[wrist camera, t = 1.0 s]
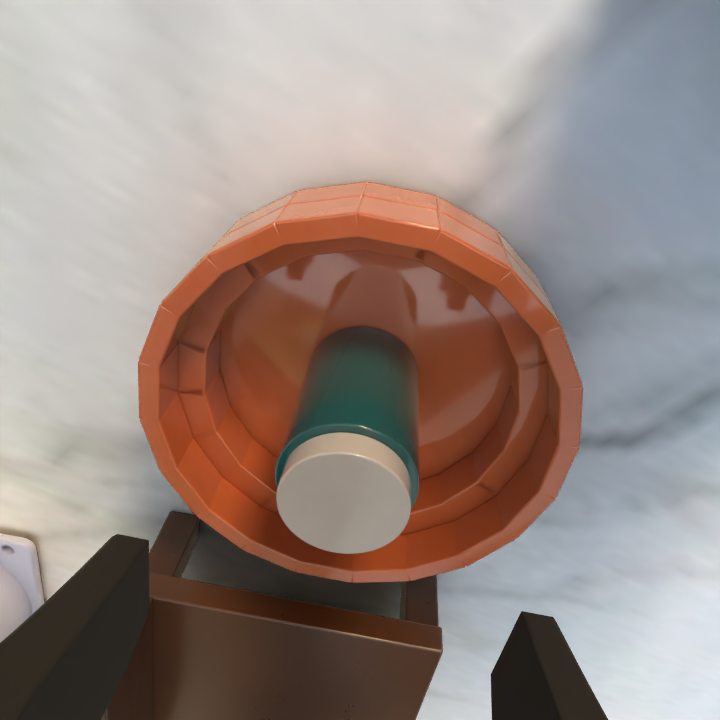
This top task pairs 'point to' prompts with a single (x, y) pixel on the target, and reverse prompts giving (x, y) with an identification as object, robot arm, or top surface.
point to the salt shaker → (352, 444)
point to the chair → (271, 650)
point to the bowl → (377, 310)
